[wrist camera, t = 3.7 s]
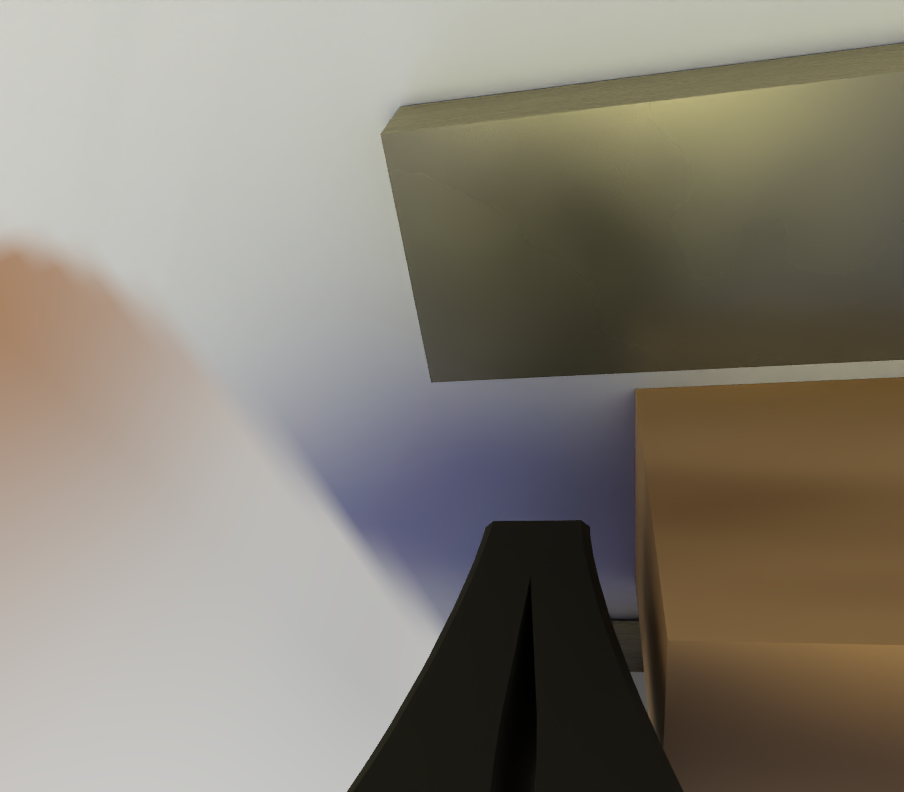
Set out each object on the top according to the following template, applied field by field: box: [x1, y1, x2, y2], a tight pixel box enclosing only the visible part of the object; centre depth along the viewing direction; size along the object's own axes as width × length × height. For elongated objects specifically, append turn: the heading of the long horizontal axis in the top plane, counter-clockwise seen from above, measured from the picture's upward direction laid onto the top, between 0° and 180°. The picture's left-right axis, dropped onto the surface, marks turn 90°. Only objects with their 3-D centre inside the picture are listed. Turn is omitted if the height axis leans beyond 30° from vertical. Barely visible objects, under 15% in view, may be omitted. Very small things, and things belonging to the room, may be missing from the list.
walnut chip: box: [635, 377, 904, 792], centre depth 9 cm, size 4×4×4 cm
